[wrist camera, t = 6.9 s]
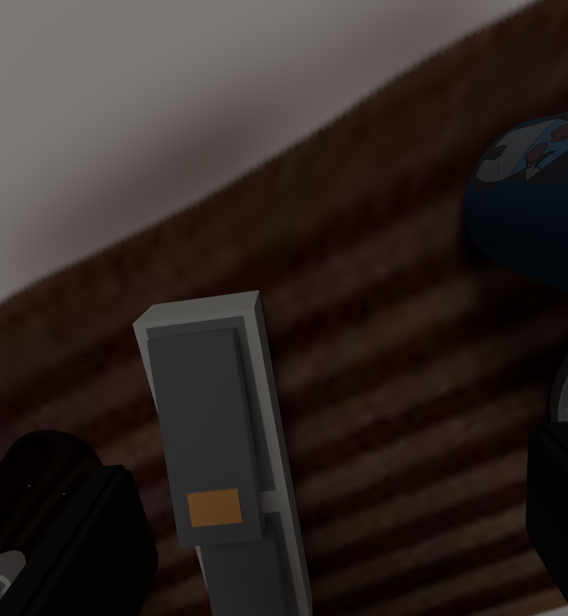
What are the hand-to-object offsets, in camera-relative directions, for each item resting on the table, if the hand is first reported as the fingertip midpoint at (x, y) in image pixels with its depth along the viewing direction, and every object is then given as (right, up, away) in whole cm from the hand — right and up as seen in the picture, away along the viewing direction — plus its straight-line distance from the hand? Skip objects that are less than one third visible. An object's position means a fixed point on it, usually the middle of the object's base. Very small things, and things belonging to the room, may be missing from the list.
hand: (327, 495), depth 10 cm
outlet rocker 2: (-3, -13, +14) cm, 19 cm away
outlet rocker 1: (-5, -2, +10) cm, 11 cm away
